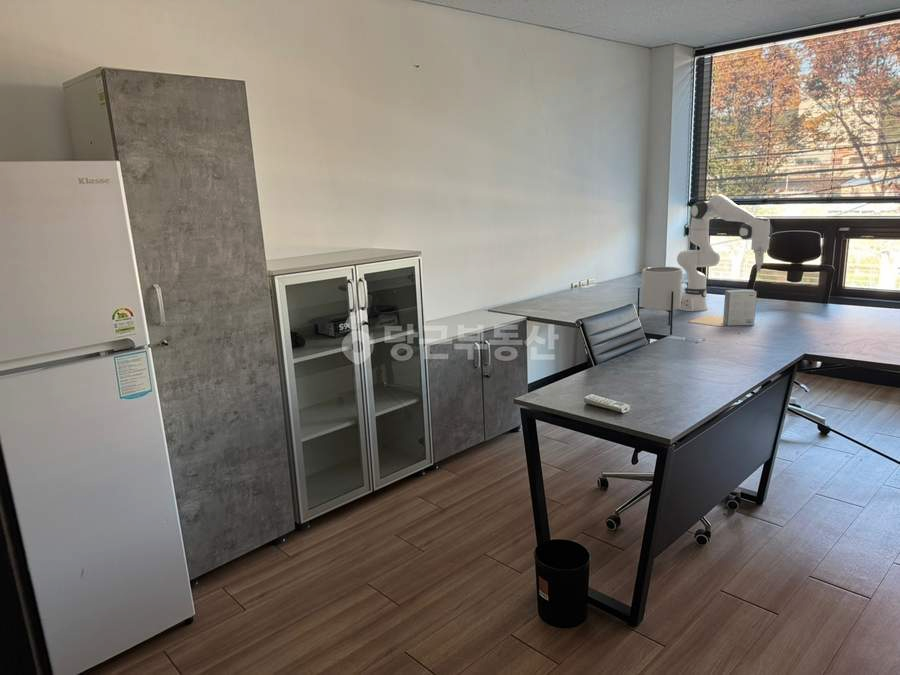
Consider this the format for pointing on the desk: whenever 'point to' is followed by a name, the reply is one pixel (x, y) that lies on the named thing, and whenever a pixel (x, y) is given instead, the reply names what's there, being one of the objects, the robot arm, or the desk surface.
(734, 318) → the hard drive box
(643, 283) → the plant pot with stand
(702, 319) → the cork mat
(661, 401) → the desk surface
